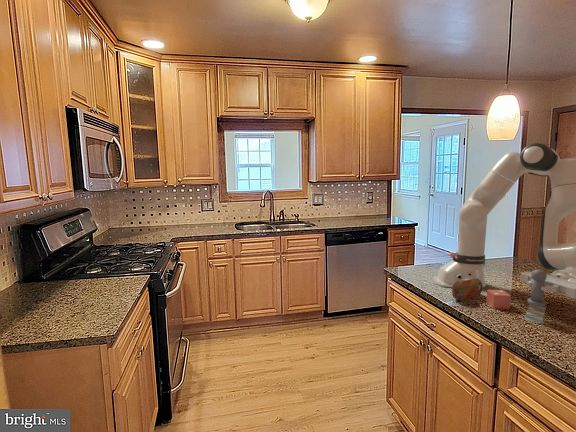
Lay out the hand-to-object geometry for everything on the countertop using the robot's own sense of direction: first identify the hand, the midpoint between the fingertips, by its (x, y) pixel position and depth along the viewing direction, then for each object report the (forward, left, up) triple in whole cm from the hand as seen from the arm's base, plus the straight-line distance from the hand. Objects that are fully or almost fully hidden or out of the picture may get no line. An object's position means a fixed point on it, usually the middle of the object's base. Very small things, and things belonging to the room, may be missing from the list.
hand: (536, 286), depth 121 cm
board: (+4, +6, -13) cm, 15 cm away
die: (-6, +12, -13) cm, 19 cm away
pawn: (+1, 0, -6) cm, 6 cm away
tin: (-15, +20, -13) cm, 29 cm away
